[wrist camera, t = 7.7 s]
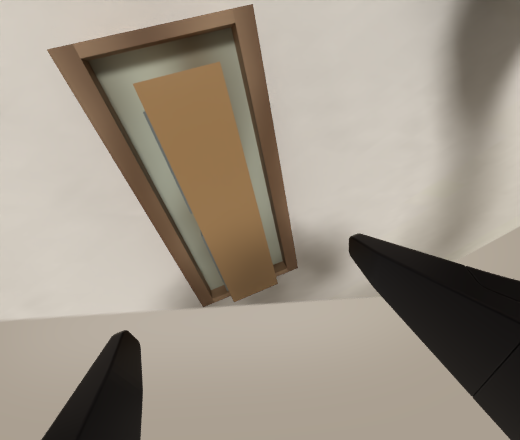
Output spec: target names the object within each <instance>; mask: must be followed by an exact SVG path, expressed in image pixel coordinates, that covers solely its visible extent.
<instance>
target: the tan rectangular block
mask: <svg viewBox="0 0 520 440" xmlns="http://www.w3.org/2000/svg"><path fill="white" fill-rule="evenodd" d="M133 86H134V88H135V90H136V92H137V95H138V97H139V99H140V101H141V103H142V105H143V107H144V110H145V111H144V112H143V114H144V116H145V118H146V120H147V122H148V124H149V126H150V129H151V131H152V133H153V135H154V137H155V139H156V141H157V143H158V146H159V148H160V150H161V152H162V154H163V156H164V158H165V160H166V162H167V165H168V167H169V169H170V171H171V173H172V175H173V177H174V179H175V182H176V184H177V186H178V188H179V190H180V192H181V194H182V196H183V198H184V201H185V203H186V205H187V207H188V209H189V211H190V213H191V214H192V213H193V215H194V217H195V219H196V221H197V223H198V226H199V228H200V231H201V237H202V239H203V241H204V243H205V245H206V247H207V249H208V251H209V254H210V256H211V258H212V260H213V262H214V264H215V266H216V268H217V270H218V273H219V275H220V277H221V279H222V281H223V283H224V285H225V287H226V290H227V291H229V292H230V294H231V297H232V299H233V301H234V302H236V301H238V300H240V299H243V298H245V297H247V296H250V295H252V294H255V293H257V292H259V291H262V290H264V289H266V288H269V287H271V286H274V285H276V284H278V282H277V279H276V275H275V271H274V267H273V263H272V259H271V256H270V252H269V248H268V244H267V240H266V236H265V232H264V229H263V225H262V221H261V217H260V213H259V209H258V206H257V202H256V198H255V194H254V190H253V186H252V183H251V179H250V175H249V171H248V167H247V163H246V160H245V156H244V152H243V148H242V144H241V140H240V137H239V133H238V129H237V125H236V121H235V117H234V114H233V110H232V106H231V102H230V98H229V94H228V91H227V87H226V83H225V79H224V75H223V71H222V68H221V64H220V62H216V63H212V64H208V65H204V66H200V67H196V68H192V69H188V70H185V71H181V72H177V73H173V74H169V75H165V76H161V77H157V78H153V79H149V80H145V81H142V82H138V83H134V84H133Z"/></svg>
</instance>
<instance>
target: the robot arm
mask: <svg viewBox="0 0 520 440" xmlns="http://www.w3.org/2000/svg"><path fill="white" fill-rule="evenodd" d="M349 254H350V256H351V257H352V259H353V260H354V262H355V263H356V264H357V266H358V267H359V268H360V270H361V271H362V273H363V274H364V275H365V277H366V278H367V279H368V281H369V282H370V283H371V285H372V286H373V287H374V288H375V289H376V291H377V292H378V293H379V294H380V295H381V296H382V297H383V298H384V299H385V301H386V302H387V303H388V304H389V305H390V306H391V307H392V308H393V310H394V311H395V312H396V313H397V314H398V315H399V316H400V317H401V318H402V319H403V321H404V322H405V323H406V324H407V325H408V326H409V327H410V328H411V329H412V331H413V332H414V333H415V334H416V335H417V336H418V337H419V338H420V339H421V341H422V342H423V343H424V344H425V345H426V346H427V347H428V348H429V349H430V351H431V352H432V353H433V354H434V355H435V356H436V357H437V358H438V359H439V360H440V362H441V363H442V364H443V365H444V366H445V367H446V368H447V369H448V371H449V372H450V373H451V374H452V375H453V376H454V377H455V378H456V379H457V380H458V382H459V383H460V384H461V385H462V386H463V387H464V388H465V389H466V391H467V392H468V393H469V394H470V395H471V396H473V399H474V400H475V401H476V402H477V403H478V404H479V405H480V406H481V407H482V408H483V410H485V412H486V413H487V414H488V415H489V416H490V417H491V418H492V420H493V421H494V422H495V423H496V424H497V425H498V426H499V427H500V428H501V430H503V432H504V433H505V434H506V435H507V436H508V437H509V438H510V440H520V281H518V280H514V279H510V278H506V277H503V276H499V275H496V274H492V273H489V272H485V271H482V270H478V269H475V268H472V267H468V266H466V267H465V266H464V265H462V264H458V263H455V262H452V261H449V260H445V259H442V258H439V257H436V256H432V255H429V254H426V253H422V252H419V251H416V250H413V249H409V248H406V247H403V246H399V245H396V244H393V243H390V242H386V241H383V240H380V239H376V238H373V237H370V236H367V235H363V234H355V235H353V236H351V237H350V238H349ZM142 396H143V386H142V366H141V348H140V343H139V341H138V340H137V339H136V338H135V337H134V336H133V335H132V334H131V333H130V332H129V331H127V330H124V331H121V332H119V333H116V334H114V335H113V336H112V337H111V338H110V340H109V341H108V343H107V344H106V346H105V347H104V349H103V350H102V352H101V353H100V355H99V356H98V358H97V359H96V360H95V362H94V363H93V365H92V366H91V368H90V369H89V371H88V372H87V374H86V375H85V377H84V378H83V380H82V381H81V383H80V384H79V385H78V387H77V388H76V390H75V391H74V393H73V394H72V396H71V397H70V399H69V400H68V402H67V403H66V405H65V406H64V408H63V409H62V411H61V412H60V413H59V415H58V416H57V418H56V420H55V421H54V422H53V424H52V425H51V427H50V428H49V430H48V431H47V432H46V434H45V435H44V437H43V438H42V440H140V436H141V417H142V398H143V397H142Z"/></svg>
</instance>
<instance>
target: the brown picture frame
mask: <svg viewBox="0 0 520 440" xmlns="http://www.w3.org/2000/svg"><path fill="white" fill-rule="evenodd" d="M47 51H48V52H49V54H50V56H51V57H52V59H53V61H54V62H55V64H56V66H57V67H58V69H59V71H60V72H61V74H62V75H63V77H64V79H65V80H66V82H67V84H68V85H69V87H70V89H71V90H72V92H73V94H74V95H75V97H76V99H77V100H78V102H79V103H80V105H81V107H82V108H83V110H84V112H85V113H86V115H87V117H88V118H89V120H90V122H91V123H92V125H93V126H94V128H95V130H96V131H97V133H98V135H99V136H100V138H101V140H102V141H103V143H104V145H105V146H106V148H107V150H108V151H109V153H110V154H111V156H112V158H113V159H114V161H115V163H116V164H117V166H118V168H119V169H120V171H121V173H122V174H123V176H124V178H125V179H126V181H127V182H128V184H129V186H130V187H131V189H132V191H133V192H134V194H135V196H136V197H137V199H138V201H139V202H140V204H141V206H142V207H143V209H144V210H145V212H146V214H147V215H148V217H149V219H150V220H151V222H152V224H153V225H154V227H155V229H156V230H157V232H158V233H159V235H160V237H161V238H162V240H163V242H164V243H165V245H166V247H167V248H168V250H169V252H170V253H171V255H172V257H173V258H174V260H175V261H176V263H177V265H178V266H179V268H180V270H181V271H182V273H183V275H184V276H185V278H186V280H187V281H188V283H189V285H190V286H191V288H192V289H193V291H194V293H195V294H196V296H197V298H198V299H199V301H200V303H201V304H202V306H203V307H205V306H207V305H210V304H212V303H214V302H217V301H219V300H222V299H224V298H226V297H229V296H231V294H230V292H229V291H227V290H226V287H225V285H224V283H223V281H222V279H221V277H220V275H219V273H218V270H217V268H216V266H215V264H214V262H213V260H212V258H211V256H210V254H209V251H208V249H207V247H206V245H205V243H204V241H203V239H202V237H201V231H200V228H199V226H198V223H197V221H196V219H195V217H194V215H193V213H192V214H191V213H190V211H189V209H188V207H187V205H186V203H185V201H184V198H183V196H182V194H181V192H180V190H179V188H178V186H177V184H176V182H175V179H174V177H173V175H172V173H171V171H170V169H169V167H168V165H167V162H166V160H165V158H164V156H163V154H162V152H161V150H160V148H159V146H158V143H157V141H156V139H155V137H154V135H153V133H152V131H151V129H150V126H149V124H148V122H147V120H146V118H145V116H144V114H143V112H144V111H145V110H144V107H143V105H142V103H141V101H140V99H139V97H138V95H137V92H136V90H135V88H134V86H133V84H134V83H138V82H142V81H145V80H149V79H153V78H157V77H161V76H165V75H169V74H173V73H177V72H181V71H185V70H188V69H192V68H196V67H200V66H204V65H208V64H212V63H216V62H220V64H221V68H222V71H223V75H224V79H225V83H226V87H227V91H228V94H229V98H230V102H231V106H232V110H233V114H234V117H235V121H236V125H237V129H238V133H239V137H240V140H241V144H242V148H243V152H244V156H245V160H246V163H247V167H248V171H249V175H250V179H251V183H252V186H253V190H254V194H255V198H256V202H257V206H258V209H259V213H260V217H261V221H262V225H263V229H264V232H265V236H266V240H267V244H268V248H269V252H270V256H271V259H272V263H273V267H274V271H275V275H276V277H277V276H279V275H282V274H284V273H286V272H289V271H291V270H294V269H296V268H298V266H297V260H296V254H295V248H294V242H293V237H292V231H291V225H290V219H289V213H288V207H287V202H286V196H285V190H284V184H283V178H282V172H281V166H280V161H279V155H278V149H277V143H276V137H275V131H274V126H273V120H272V114H271V108H270V102H269V96H268V91H267V85H266V79H265V73H264V67H263V61H262V56H261V50H260V44H259V38H258V32H257V26H256V20H255V15H254V9H253V4H251V5H247V6H242V7H238V8H233V9H229V10H224V11H220V12H215V13H211V14H206V15H201V16H197V17H192V18H188V19H183V20H179V21H174V22H170V23H165V24H161V25H156V26H152V27H147V28H143V29H138V30H134V31H129V32H125V33H120V34H116V35H111V36H107V37H102V38H97V39H93V40H88V41H84V42H79V43H75V44H70V45H66V46H61V47H57V48H52V49H48V50H47Z"/></svg>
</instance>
